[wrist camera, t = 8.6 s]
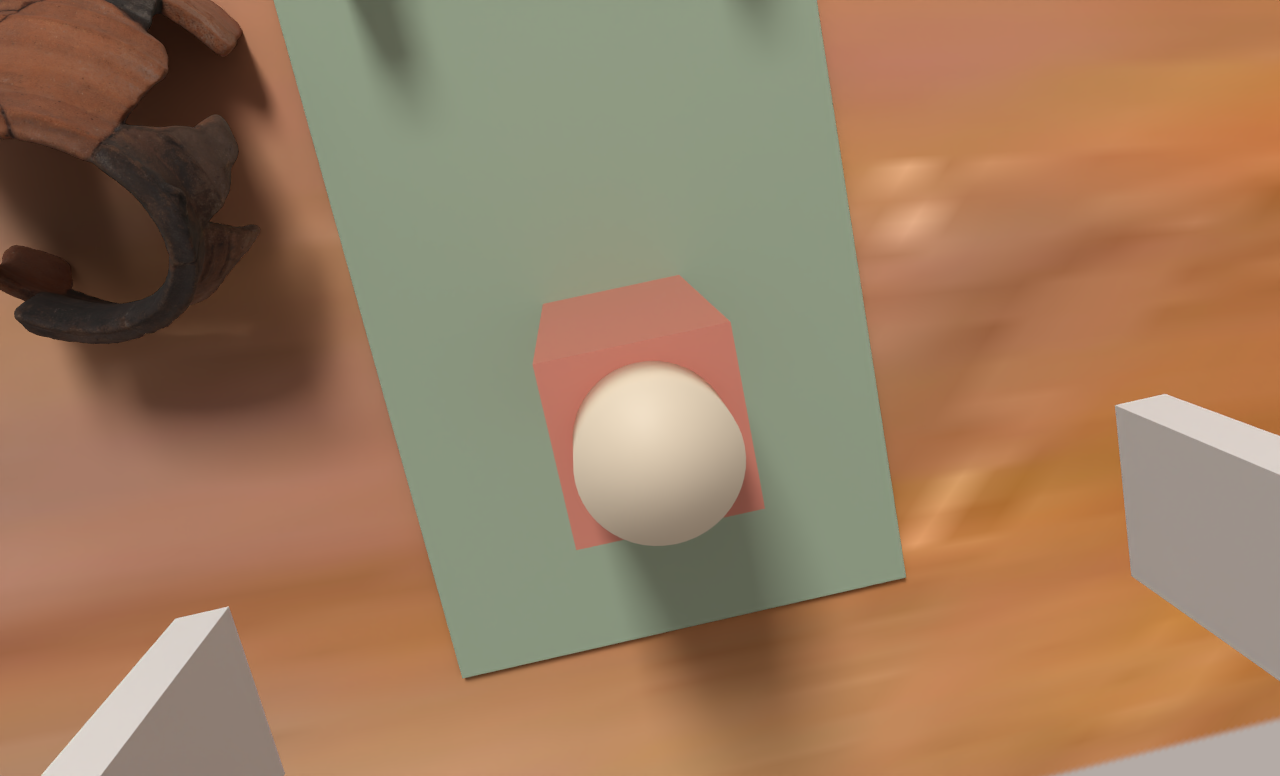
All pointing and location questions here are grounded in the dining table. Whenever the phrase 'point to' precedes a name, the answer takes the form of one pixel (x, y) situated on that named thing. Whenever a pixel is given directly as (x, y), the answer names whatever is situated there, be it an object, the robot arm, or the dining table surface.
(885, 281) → the dining table surface
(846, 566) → the felt mat
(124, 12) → the pottery mug
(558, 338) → the red tall block
